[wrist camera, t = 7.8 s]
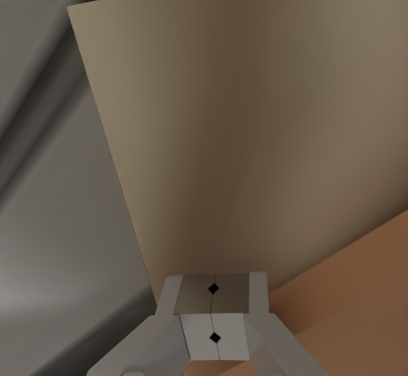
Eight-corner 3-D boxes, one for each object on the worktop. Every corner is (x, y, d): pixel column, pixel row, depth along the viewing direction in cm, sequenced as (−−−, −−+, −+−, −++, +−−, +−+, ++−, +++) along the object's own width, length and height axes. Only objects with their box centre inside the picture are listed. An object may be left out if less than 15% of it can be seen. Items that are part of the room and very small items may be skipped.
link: (664, 35, 7) (804, 54, 6) (725, 156, 8) (862, 208, 7) (165, 346, 14) (151, 405, 12) (232, 395, 15) (228, 457, 13)
